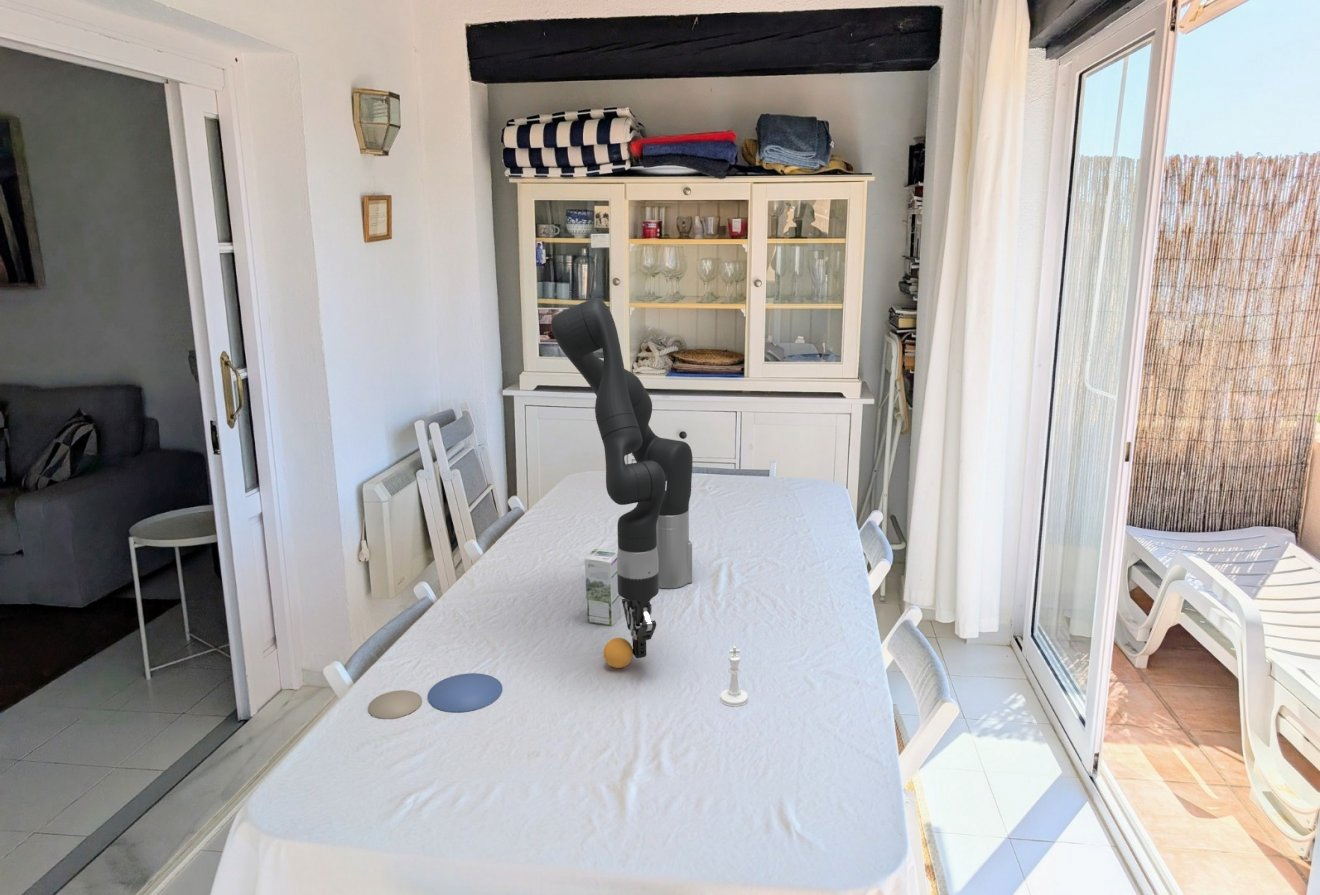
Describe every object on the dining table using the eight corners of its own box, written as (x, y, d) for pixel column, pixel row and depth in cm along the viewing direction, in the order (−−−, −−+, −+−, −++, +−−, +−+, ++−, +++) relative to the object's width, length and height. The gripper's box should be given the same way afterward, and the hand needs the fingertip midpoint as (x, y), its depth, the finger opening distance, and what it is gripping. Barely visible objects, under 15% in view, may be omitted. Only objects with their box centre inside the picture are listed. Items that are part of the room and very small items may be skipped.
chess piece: (717, 692, 161) (718, 641, 159) (745, 691, 162) (746, 639, 159) (722, 707, 157) (722, 654, 154) (750, 705, 157) (751, 653, 154)
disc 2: (496, 669, 170) (496, 668, 170) (507, 704, 158) (507, 703, 158) (424, 681, 166) (424, 680, 166) (431, 718, 154) (430, 717, 154)
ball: (633, 649, 174) (621, 627, 172) (641, 663, 169) (629, 640, 167) (607, 664, 173) (595, 641, 171) (614, 678, 168) (602, 655, 166)
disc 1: (419, 687, 164) (419, 686, 164) (423, 713, 156) (423, 712, 156) (367, 696, 161) (367, 695, 161) (368, 723, 153) (368, 722, 153)
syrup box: (622, 615, 192) (620, 550, 188) (611, 627, 186) (610, 560, 183) (597, 611, 194) (595, 547, 190) (586, 623, 188) (583, 557, 184)
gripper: (670, 579, 161) (671, 668, 166) (645, 554, 173) (646, 637, 178) (629, 585, 159) (631, 676, 163) (607, 559, 171) (609, 644, 175)
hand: (639, 655), depth 171 cm, fingers closed
